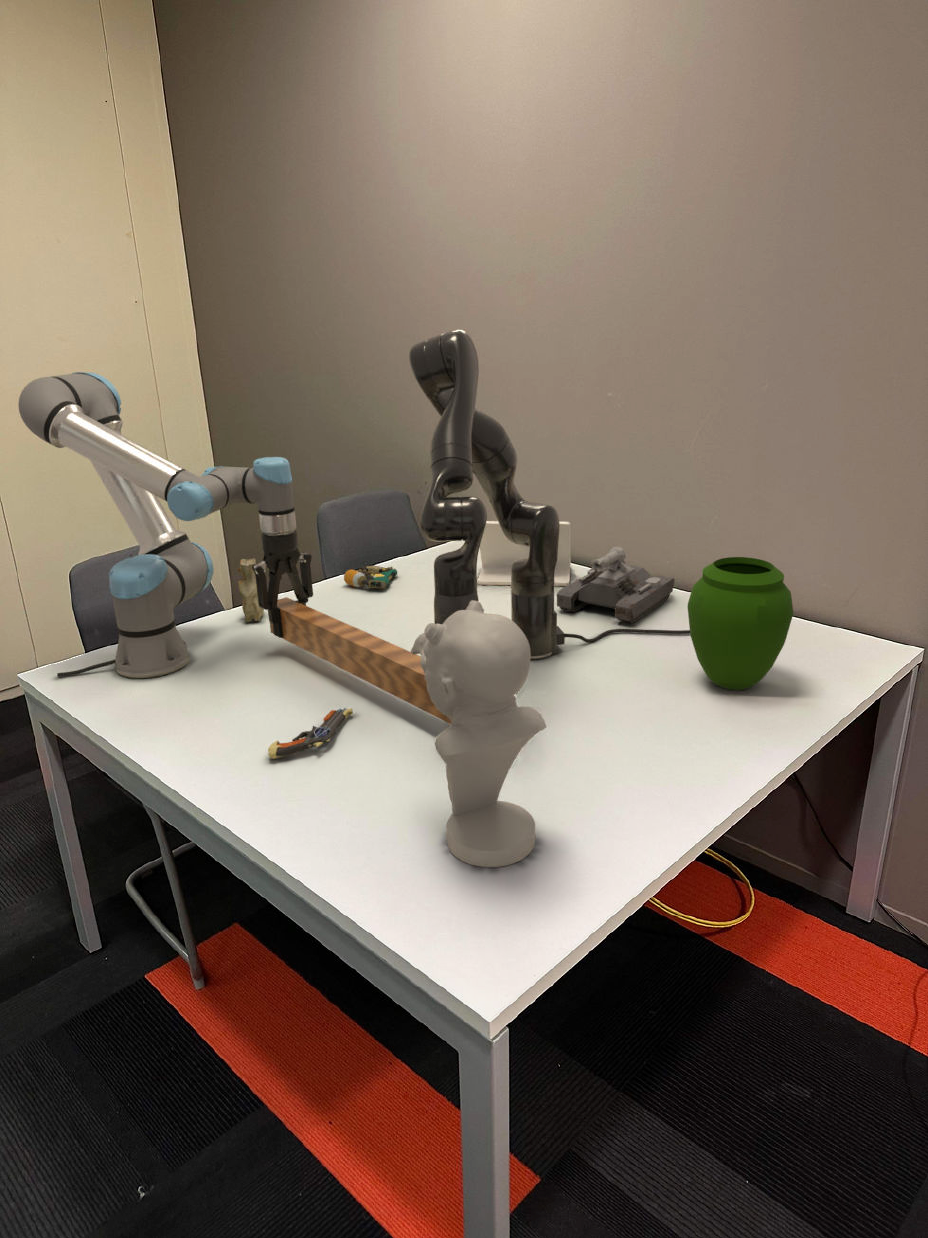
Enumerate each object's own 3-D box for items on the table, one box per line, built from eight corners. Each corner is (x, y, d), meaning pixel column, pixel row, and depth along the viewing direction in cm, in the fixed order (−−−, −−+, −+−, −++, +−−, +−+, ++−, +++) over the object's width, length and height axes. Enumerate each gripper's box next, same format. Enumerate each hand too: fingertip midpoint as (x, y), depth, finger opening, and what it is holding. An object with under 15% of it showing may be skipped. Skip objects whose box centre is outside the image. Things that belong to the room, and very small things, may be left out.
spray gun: (366, 572, 247) (411, 580, 241) (334, 586, 233) (382, 594, 227) (366, 558, 246) (412, 565, 240) (334, 571, 232) (382, 579, 226)
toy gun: (263, 749, 145) (318, 746, 143) (303, 706, 163) (352, 703, 161) (266, 763, 146) (321, 761, 144) (306, 719, 164) (355, 716, 161)
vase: (795, 674, 173) (808, 558, 164) (770, 712, 157) (784, 587, 149) (700, 656, 183) (708, 546, 174) (668, 690, 167) (675, 571, 159)
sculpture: (268, 613, 216) (261, 555, 210) (263, 623, 209) (256, 564, 204) (245, 614, 215) (238, 556, 210) (239, 624, 209) (232, 565, 203)
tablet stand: (569, 585, 229) (570, 524, 223) (476, 584, 232) (475, 523, 226) (570, 566, 246) (571, 508, 240) (484, 564, 249) (483, 507, 243)
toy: (603, 584, 229) (605, 530, 224) (673, 597, 218) (677, 540, 213) (555, 612, 210) (556, 553, 205) (630, 627, 199) (633, 566, 194)
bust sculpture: (481, 772, 140) (476, 569, 128) (565, 848, 120) (569, 617, 108) (392, 800, 134) (378, 588, 121) (465, 886, 114) (457, 642, 101)
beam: (487, 723, 148) (486, 685, 146) (466, 732, 145) (464, 694, 143) (289, 626, 195) (286, 597, 192) (270, 632, 192) (267, 602, 189)
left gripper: (306, 520, 190) (315, 618, 198) (232, 536, 179) (245, 639, 187) (324, 526, 185) (333, 626, 193) (249, 543, 174) (262, 648, 182)
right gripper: (473, 599, 150) (475, 687, 156) (409, 620, 141) (413, 712, 147) (503, 609, 145) (503, 700, 151) (438, 632, 136) (441, 727, 142)
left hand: (289, 632), depth 190 cm, fingers closed on beam, 5 cm apart
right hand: (459, 705), depth 149 cm, fingers closed on beam, 5 cm apart
